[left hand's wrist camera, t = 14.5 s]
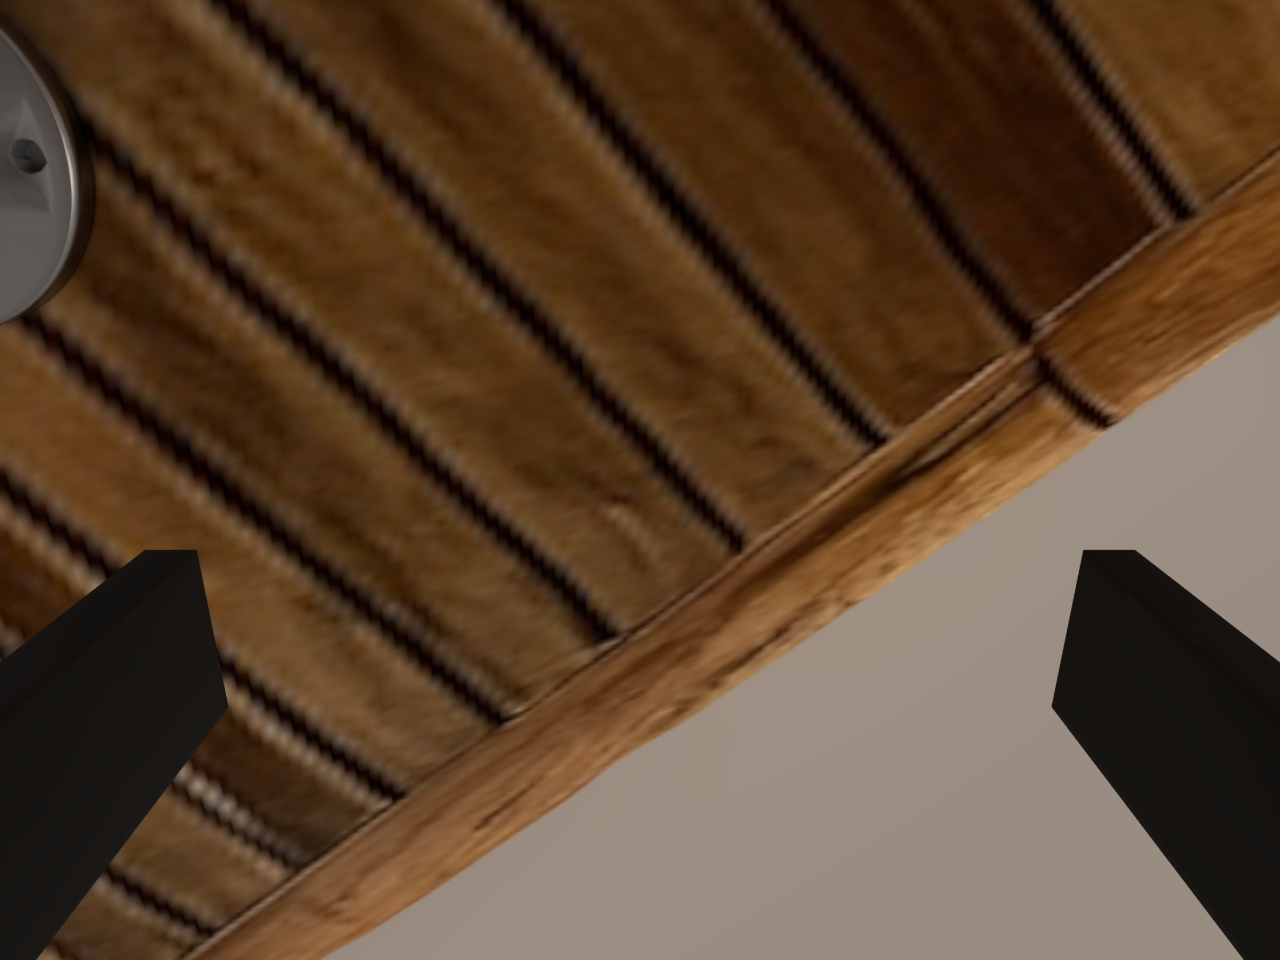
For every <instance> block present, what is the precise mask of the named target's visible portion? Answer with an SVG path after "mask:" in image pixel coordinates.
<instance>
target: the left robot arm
mask: <svg viewBox="0 0 1280 960" xmlns="http://www.w3.org/2000/svg"><path fill="white" fill-rule="evenodd" d="M93 196H94V191H93V178H92V170H91V164H90V158H89V154H88V150H87V146H86V142H85V139H84V136H83V133H82V130H81V127H80V124H79V121H78V119H77V117H76V115H75V112H74V110H73V108H72V106H71V103H70V101H69V99H68V98H67V96H66V94H65V92H64V90H63V88H62V87H61V85H60V83H59V82H58V80H57V78H56V77H55V75H54V74H53V72H52V71H51V69H50V68H49V66H48V65H47V64H46V62H45V61H44V60H43V58H42V57H41V56H40V54H39V53H38V52H37V50H36V49H35V48H34V47H33V46H32V45H31V44H30V43H29V41H28V40H27V39H26V38H25V37H24V36H23V35H22V34H21V33H20V32H19V31H18V30H17V29H16V28H15V27H14V26H13V25H12V24H11V23H10V22H9V21H8V20H7V19H6V18H4V17H3V16H2V15H1V14H0V325H2V324H6V323H10V322H12V321H15V320H17V319H20V318H22V317H24V316H26V315H28V314H30V313H32V312H34V311H36V310H37V309H39V308H40V307H41V306H43V305H44V304H46V303H47V302H48V301H49V300H50V299H52V298H53V297H54V296H55V295H56V294H57V293H58V292H59V291H60V290H61V289H62V287H63V286H64V285H65V284H66V283H67V282H68V280H69V279H70V277H71V275H72V274H73V272H74V271H75V269H76V267H77V265H78V263H79V261H80V259H81V257H82V255H83V252H84V250H85V247H86V244H87V241H88V237H89V233H90V229H91V223H92V215H93ZM227 708H228V702H227V697H226V692H225V687H224V683H223V678H222V673H221V668H220V663H219V658H218V653H217V648H216V643H215V638H214V633H213V628H212V623H211V618H210V613H209V608H208V603H207V599H206V594H205V589H204V584H203V579H202V574H201V569H200V564H199V559H198V554H197V550H144V551H143V552H142V553H140V554H139V555H138V556H137V557H135V558H134V559H133V560H131V561H130V562H129V563H128V564H126V565H125V566H124V567H122V568H121V569H120V570H118V571H117V572H116V573H115V574H113V575H112V576H111V577H109V578H108V579H107V580H106V581H104V582H103V583H102V584H100V585H99V586H98V587H97V588H95V589H94V590H93V591H91V592H90V593H89V594H88V595H86V596H85V597H84V598H82V599H81V600H80V601H79V602H77V603H76V604H75V605H73V606H72V607H71V608H70V609H68V610H67V611H66V612H64V613H63V614H62V615H61V616H59V617H58V618H57V619H55V620H54V621H53V622H51V623H50V624H49V625H48V626H46V627H45V628H44V629H42V630H41V631H40V632H39V633H37V634H36V635H35V636H33V637H32V638H31V639H30V640H28V641H27V642H26V643H24V644H23V645H22V646H21V647H19V648H18V649H17V650H15V651H14V652H13V653H12V654H10V655H9V656H8V657H6V658H5V659H4V660H3V661H1V662H0V960H36V959H37V958H38V957H39V955H40V954H41V953H42V952H43V950H44V949H45V948H46V946H47V945H48V944H49V942H50V941H51V940H52V938H53V937H54V936H55V934H56V933H57V932H58V930H59V929H60V928H61V927H62V925H63V924H64V923H65V921H66V920H67V919H68V917H69V916H70V915H71V913H72V912H73V911H74V909H75V908H76V907H77V905H78V904H79V903H80V902H81V900H82V899H83V898H84V896H85V895H86V894H87V892H88V891H89V890H90V888H91V887H92V886H93V884H94V883H95V882H96V880H97V879H98V878H99V877H100V875H101V874H102V873H103V871H104V870H105V869H106V867H107V866H108V865H109V863H110V862H111V861H112V859H113V858H114V857H115V856H116V854H117V853H118V852H119V850H120V849H121V848H122V846H123V845H124V844H125V842H126V841H127V840H128V838H129V837H130V836H131V834H132V833H133V832H134V831H135V829H136V828H137V827H138V825H139V824H140V823H141V821H142V820H143V819H144V817H145V816H146V815H147V813H148V812H149V811H150V809H151V808H152V807H153V806H154V804H155V803H156V802H157V800H158V799H159V798H160V796H161V795H162V794H163V792H164V791H165V790H166V788H167V787H168V786H169V784H170V783H171V782H172V781H173V779H174V778H175V777H176V775H177V774H178V773H179V771H180V770H181V769H182V767H183V766H184V765H185V763H186V762H187V761H188V759H189V758H190V757H191V756H192V754H193V753H194V752H195V750H196V749H197V748H198V746H199V745H200V744H201V742H202V741H203V740H204V738H205V737H206V736H207V735H208V733H209V732H210V731H211V729H212V728H213V727H214V725H215V724H216V723H217V721H218V720H219V719H220V717H221V716H222V715H223V713H224V712H225V711H226V710H227ZM1052 708H1053V710H1054V711H1055V712H1056V713H1057V715H1058V716H1059V717H1060V719H1061V720H1062V721H1063V723H1064V724H1065V725H1066V727H1067V728H1068V729H1069V731H1070V732H1071V733H1072V735H1073V736H1074V737H1075V738H1076V740H1077V741H1078V742H1079V744H1080V745H1081V746H1082V748H1083V749H1084V750H1085V752H1086V753H1087V754H1088V756H1089V757H1090V758H1091V759H1092V761H1093V762H1094V763H1095V765H1096V766H1097V767H1098V769H1099V770H1100V771H1101V773H1102V774H1103V775H1104V777H1105V778H1106V779H1107V780H1108V782H1109V783H1110V784H1111V786H1112V787H1113V788H1114V790H1115V791H1116V792H1117V794H1118V795H1119V796H1120V798H1121V799H1122V800H1123V802H1124V803H1125V804H1126V806H1127V807H1128V808H1129V809H1130V811H1131V812H1132V813H1133V815H1134V816H1135V817H1136V819H1137V820H1138V821H1139V823H1140V824H1141V825H1142V827H1143V828H1144V829H1145V830H1146V832H1147V833H1148V834H1149V836H1150V837H1151V838H1152V840H1153V841H1154V842H1155V844H1156V845H1157V846H1158V848H1159V849H1160V850H1161V852H1162V853H1163V854H1164V856H1165V857H1166V858H1167V859H1168V861H1169V862H1170V863H1171V865H1172V866H1173V867H1174V869H1175V870H1176V871H1177V873H1178V874H1179V875H1180V877H1181V878H1182V879H1183V880H1184V882H1185V883H1186V884H1187V886H1188V887H1189V888H1190V890H1191V891H1192V892H1193V894H1194V895H1195V896H1196V898H1197V899H1198V900H1199V902H1200V903H1201V904H1202V905H1203V907H1204V908H1205V909H1206V911H1207V912H1208V913H1209V915H1210V916H1211V917H1212V919H1213V920H1214V921H1215V923H1216V924H1217V925H1218V927H1219V928H1220V929H1221V930H1222V932H1223V933H1224V934H1225V936H1226V937H1227V938H1228V940H1229V941H1230V942H1231V944H1232V945H1233V946H1234V948H1235V949H1236V950H1237V952H1238V953H1239V954H1240V955H1241V957H1242V958H1243V959H1244V960H1280V662H1279V661H1277V660H1276V659H1275V658H1274V657H1272V656H1271V655H1270V654H1268V653H1267V652H1266V651H1265V650H1263V649H1262V648H1261V647H1259V646H1258V645H1257V644H1256V643H1254V642H1253V641H1252V640H1250V639H1249V638H1248V637H1247V636H1245V635H1244V634H1243V633H1241V632H1240V631H1239V630H1237V629H1236V628H1235V627H1234V626H1232V625H1231V624H1230V623H1229V622H1227V621H1226V620H1225V619H1223V618H1222V617H1221V616H1219V615H1218V614H1217V613H1216V612H1214V611H1213V610H1212V609H1210V608H1209V607H1208V606H1207V605H1205V604H1204V603H1203V602H1201V601H1200V600H1199V599H1198V598H1196V597H1195V596H1194V595H1192V594H1191V593H1190V592H1189V591H1187V590H1186V589H1185V588H1183V587H1182V586H1181V585H1180V584H1178V583H1177V582H1176V581H1174V580H1173V579H1172V578H1171V577H1169V576H1168V575H1167V574H1165V573H1164V572H1163V571H1162V570H1160V569H1159V568H1157V567H1156V566H1155V565H1154V564H1152V563H1151V562H1150V561H1149V560H1147V559H1146V558H1145V557H1143V556H1142V555H1141V554H1140V553H1138V552H1137V551H1136V550H1083V554H1082V559H1081V564H1080V569H1079V574H1078V579H1077V584H1076V589H1075V594H1074V599H1073V603H1072V608H1071V613H1070V618H1069V623H1068V628H1067V633H1066V638H1065V643H1064V648H1063V653H1062V658H1061V663H1060V668H1059V673H1058V678H1057V683H1056V688H1055V693H1054V698H1053V702H1052Z"/></svg>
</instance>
